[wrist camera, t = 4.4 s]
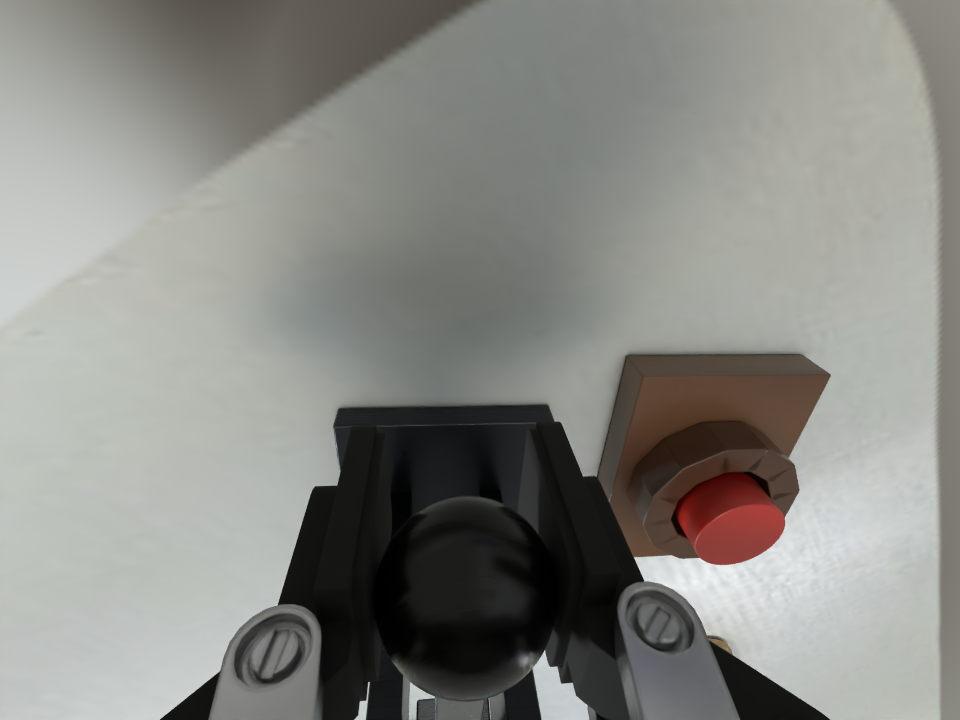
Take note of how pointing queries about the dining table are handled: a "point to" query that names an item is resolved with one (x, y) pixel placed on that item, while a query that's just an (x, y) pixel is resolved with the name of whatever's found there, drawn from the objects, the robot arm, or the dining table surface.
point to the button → (729, 519)
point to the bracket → (441, 474)
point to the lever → (465, 603)
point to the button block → (701, 436)
